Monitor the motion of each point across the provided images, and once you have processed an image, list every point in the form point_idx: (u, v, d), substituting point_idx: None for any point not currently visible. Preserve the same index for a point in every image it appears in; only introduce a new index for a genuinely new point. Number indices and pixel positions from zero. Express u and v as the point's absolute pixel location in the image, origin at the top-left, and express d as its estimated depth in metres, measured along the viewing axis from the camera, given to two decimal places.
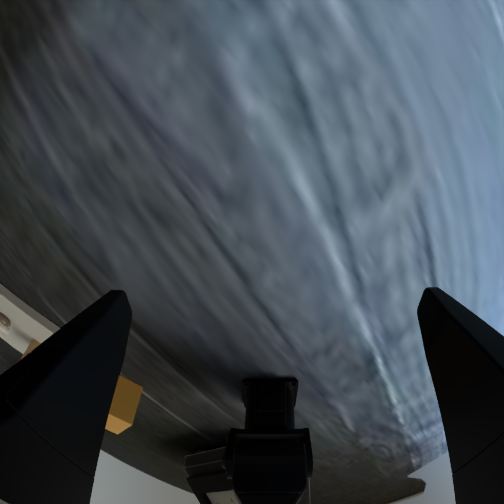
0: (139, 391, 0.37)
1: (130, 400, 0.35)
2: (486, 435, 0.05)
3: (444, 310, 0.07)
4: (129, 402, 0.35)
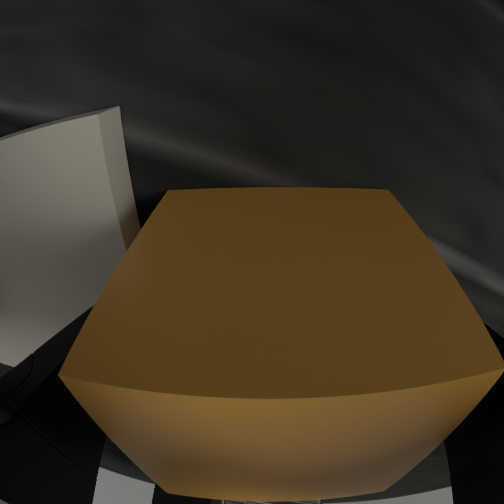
0: (389, 203, 0.07)
1: (382, 241, 0.06)
2: (484, 437, 0.05)
3: None
4: (385, 251, 0.05)
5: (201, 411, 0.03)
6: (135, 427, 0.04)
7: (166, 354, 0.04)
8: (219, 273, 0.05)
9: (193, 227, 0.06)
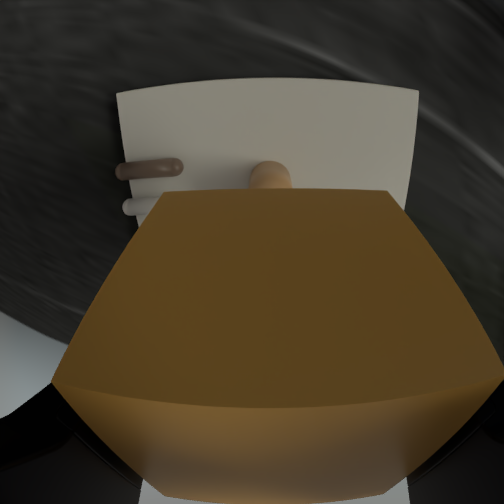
0: (388, 204, 0.07)
1: (381, 244, 0.06)
2: (439, 451, 0.05)
3: None
4: (384, 255, 0.05)
5: (194, 419, 0.03)
6: (129, 433, 0.04)
7: (159, 362, 0.04)
8: (214, 277, 0.05)
9: (188, 230, 0.06)
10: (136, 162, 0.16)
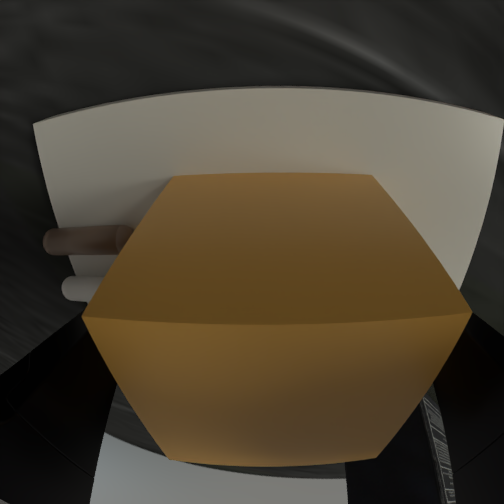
0: (371, 185, 0.08)
1: (362, 214, 0.07)
2: (486, 436, 0.05)
3: None
4: (364, 221, 0.06)
5: (205, 342, 0.04)
6: (145, 369, 0.05)
7: (177, 295, 0.05)
8: (220, 237, 0.06)
9: (197, 203, 0.07)
10: (68, 231, 0.10)
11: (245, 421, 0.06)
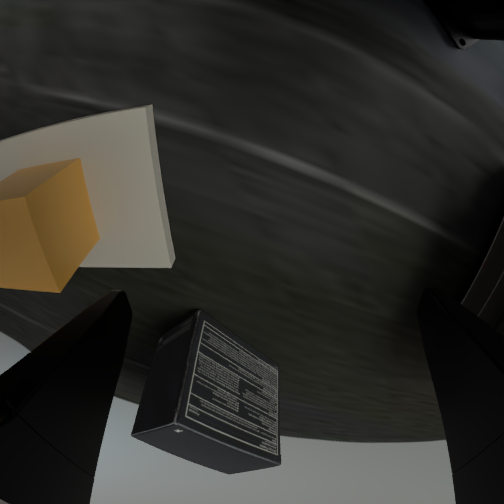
0: (69, 163, 0.17)
1: (43, 175, 0.15)
2: (487, 436, 0.05)
3: (444, 310, 0.07)
4: (39, 177, 0.15)
5: None
6: None
7: None
8: (3, 187, 0.15)
9: (10, 179, 0.16)
10: None
11: (0, 247, 0.14)
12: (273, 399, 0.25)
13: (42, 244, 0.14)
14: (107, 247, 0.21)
